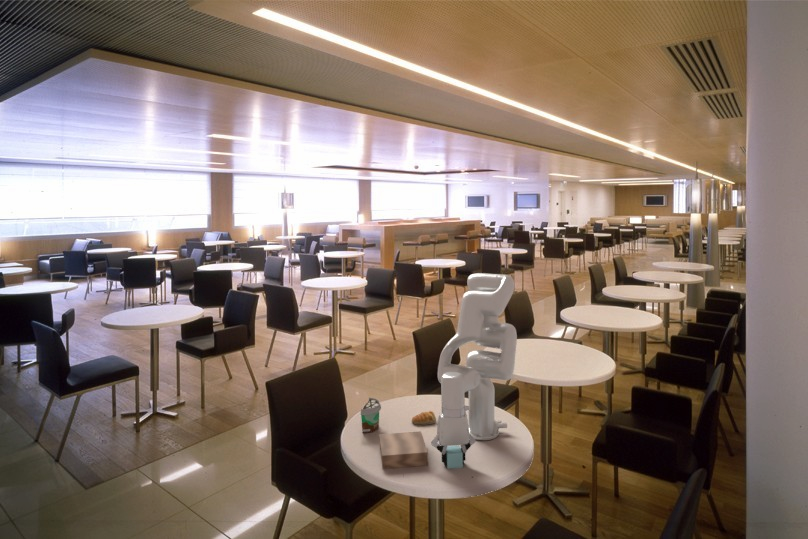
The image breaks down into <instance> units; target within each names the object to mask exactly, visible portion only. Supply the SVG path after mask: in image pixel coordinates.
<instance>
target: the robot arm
mask: <svg viewBox="0 0 808 539" xmlns="http://www.w3.org/2000/svg"><path fill="white" fill-rule="evenodd" d="M466 280H467V281H466V283H467V288H468V291H466V292H464V294H463V295H462V297H461V304H460V310H459V315H458V321H457V322H458V323H457V328H456V333H455V335H454V336H453V337H451V338H450V340H449V341H448V342H447V343H446V344H445V346H444V347H443V349H442V351H441V352H440V356H439V360H438V365H437V380H438V382H439V383H440V385H441V389H440V392H441V394H440V395H441V412H439V414H438V418H437V427H436V428H437V430H436V435H435V436H434V438H433V439H432V440H431V442H430V443H431V446H432V447H434V448H435V449H437V450H438V451H439V452H440V453H441V462H442V463H443V465H444V466H445V467H447V454H446V449H447V446H460V448H461V451H462V453H463V466H464V464H465V461H466V453H467V451H468V450H469V449H470V448H471V446H473V444H476V441H477V440H478V441H489V440H493V439H495V438H497V437H498V436H499V430H500V429H507V428H508V423H507V422H503V421H502V420H497V421H496V420H495V386H494V383H493V381H492V380H497V381H509V380H511V379H512V377H513V374H514V373H515V372H514V370H515V363H516V354H517V352H516V351H517V342H518V339H517V338H518V335H517V329H516V327H515V326H514V325H513V324H512V323H507V322H499V317H500V316H502V314H503V313H504V311H505V309H506V307H507V306H508V304H509V302H510V300H511V298H512V296H513V294H514V291H515V280H514V278H513V277H512V276H511V275H509V274H503V273H486V272H483V273H482V272H477V273H476V272H475V273H472V274H470V275H469V276H468V277H467V279H466ZM469 343H474V344H475V345H476V346H479V347H483V348H491V349H498V350H500V352H497V351H489V350H484V349H483V350H482V349H473V350H471V351H470V352H468V353H467V355H466V357H465V365H460V364H455V363H454V364H453V363H451V362H452V359H453V358H452V357H453V355H454V353H455V352H456V351H457V350H458V349H459V348H461V347H462V346H464V345H466V344H469ZM465 393H468V405H466V404H465V401H466V400H465V398H466V397H465V396H466V395H465ZM466 411H467V412H468V415H467V412H466Z"/></svg>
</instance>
